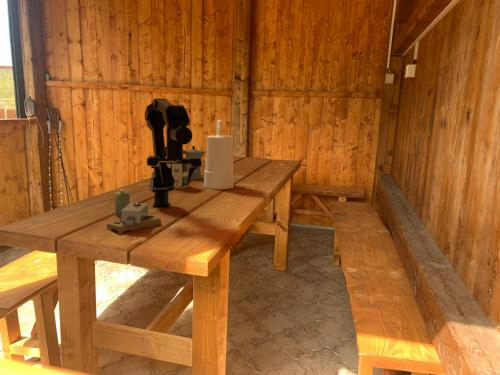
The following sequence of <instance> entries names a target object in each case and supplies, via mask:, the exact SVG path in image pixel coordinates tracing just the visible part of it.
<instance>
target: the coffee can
mask: <svg viewBox="0 0 500 375" xmlns="http://www.w3.org/2000/svg"><path fill="white" fill-rule="evenodd" d="M183 159H187V158H186V157H183ZM169 161H172V160H169ZM178 162H181V161H178ZM167 166H168V167H169V168H171V169H172V176H173V177H174V179H175V181H174V189H185V188H187V187H188V185H187V164H167Z"/></svg>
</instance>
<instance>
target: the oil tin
mask: <svg viewBox="0 0 500 375" xmlns="http://www.w3.org/2000/svg"><path fill="white" fill-rule="evenodd" d="M114 202H115V203H114V204H115V206H114V207H115V208H114V209H115V216H116V217H121V210H123V209H124V208H125V207H126V206H127V205H128V204H130V203H131V202H130V192H129V191H125V189H119V191H116V192H115V193H114Z"/></svg>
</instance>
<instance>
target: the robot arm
mask: <svg viewBox="0 0 500 375" xmlns="http://www.w3.org/2000/svg"><path fill="white" fill-rule="evenodd" d="M144 111H145V112H144V120H145V121H146V126H147V128H148V129H149V130H150V131H151V137H152V148H153V155H150V156H148V157H147V159H146V166H148V167H150V169H153V170H152V173H151V178H150V182H149V185H148V186H149V188H148V189H149V191H151V193H153V204H152V208H169V207H170V204H171V202H170V201H169V199H170V198H169V196H170V195H169V194H170V192H171V191H172V192H173V191H174V189H175V188H174V181H175V179H174V177H173V176H172V169H171V168H169V167H168V166H167V164H190V165H189V172H188V179H187V186H189V185H190V181H191V180H192V179H191V176H192V174H193V172H194V170H195V169H198V167H200V168H201V167H202V158H200V157H190V159H183V158H184V154H183V150H184V145H187V144H189V143H190V142H191V141H192V139H193V132H192V130H191V129H190V128H188V126H190V122H191V120H190V117H189V113H188V110H187V109H186V108H185V106H184V105H183V104H182V105H181V104H179V105H178V104H173V103H172V102H170V101H168V99H166V98H160V97H159V98H158V97H157V98H156V97H155V98H153V100H152V102H151V103H149V104H148V105H147V106H146V108H145V110H144ZM165 127H166V128H165ZM164 128H165V129H166V133H164ZM164 134H166V142H165V135H164ZM169 160H172V161H169ZM178 161H181V162H178ZM169 191H170V192H169Z"/></svg>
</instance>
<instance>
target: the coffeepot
mask: <svg viewBox="0 0 500 375" xmlns="http://www.w3.org/2000/svg"><path fill="white" fill-rule="evenodd" d="M191 148H192V149H188V150H186V149H185V150H184V149H183V155H185V158H187V159H190V157H200V158H201V159H202V157H204V154H206V152H205V151H203V150H199V149H195V148H196V146H195V145H192V146H191ZM189 165H190V164H187V179H188V172H189ZM200 179H202V171H201V166H200V167H198V169H195V170H194V172H193V174H192V176H191V179H190V180H200Z"/></svg>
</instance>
